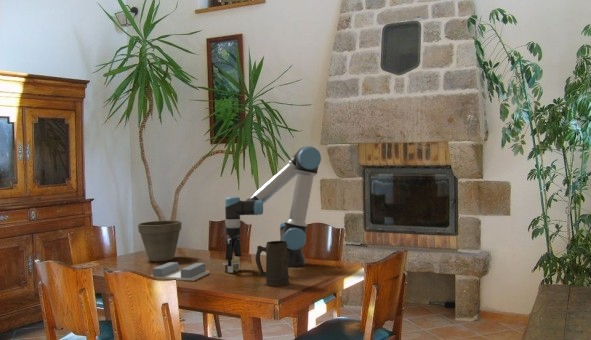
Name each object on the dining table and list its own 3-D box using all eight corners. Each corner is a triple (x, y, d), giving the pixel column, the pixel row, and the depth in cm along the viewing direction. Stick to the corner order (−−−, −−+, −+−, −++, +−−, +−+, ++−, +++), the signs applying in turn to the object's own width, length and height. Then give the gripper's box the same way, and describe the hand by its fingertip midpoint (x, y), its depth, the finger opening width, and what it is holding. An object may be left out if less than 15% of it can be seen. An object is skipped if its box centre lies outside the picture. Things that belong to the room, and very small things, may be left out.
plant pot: (130, 262, 358) (129, 224, 357) (153, 255, 381) (152, 219, 380) (168, 263, 350) (167, 225, 349) (189, 256, 373) (188, 220, 373)
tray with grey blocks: (208, 273, 318) (208, 263, 318) (194, 280, 301) (193, 269, 301) (166, 272, 325) (166, 262, 325) (149, 278, 308) (148, 268, 307)
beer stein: (290, 281, 295) (286, 239, 295) (291, 285, 284) (287, 242, 284) (258, 284, 295) (254, 242, 294) (257, 289, 284) (253, 245, 283)
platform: (253, 271, 322) (253, 259, 322) (223, 276, 312) (223, 263, 311) (241, 268, 332) (241, 256, 332) (211, 272, 321) (211, 260, 321)
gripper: (233, 224, 333) (234, 266, 334) (218, 229, 312) (219, 274, 313) (246, 224, 331) (247, 267, 332) (232, 229, 310) (233, 274, 311)
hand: (233, 270), depth 322 cm, fingers closed on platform, 9 cm apart
